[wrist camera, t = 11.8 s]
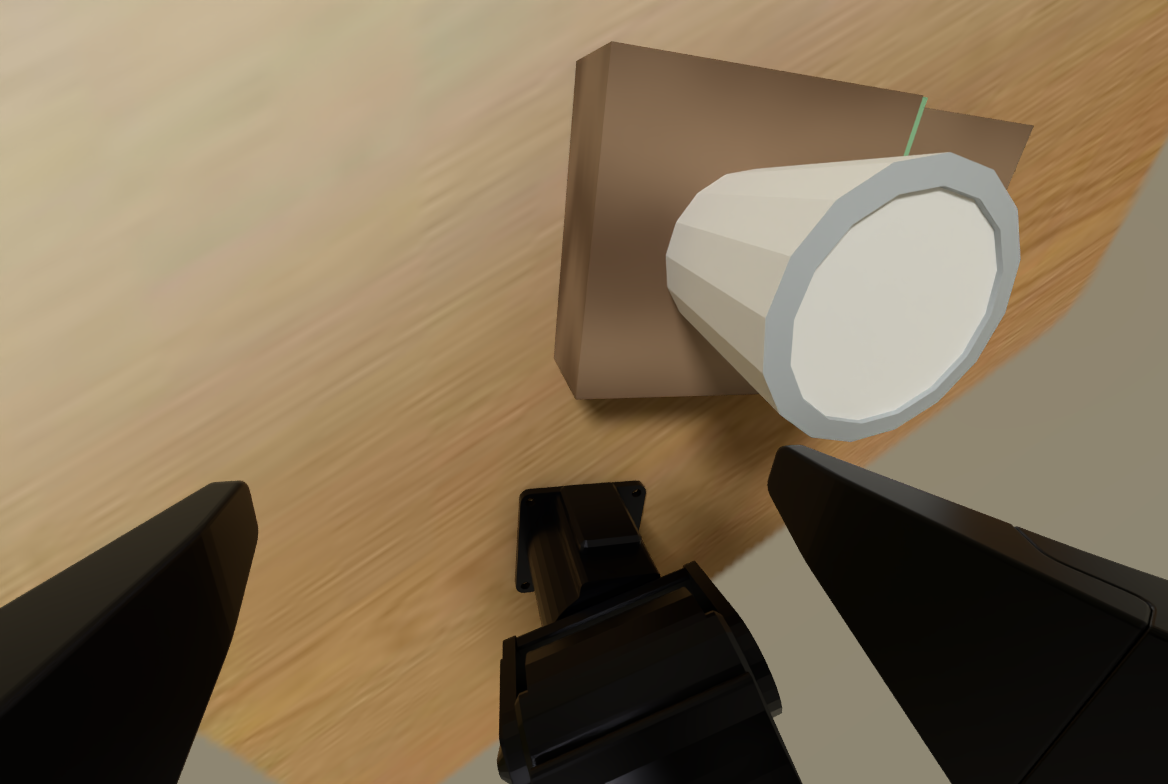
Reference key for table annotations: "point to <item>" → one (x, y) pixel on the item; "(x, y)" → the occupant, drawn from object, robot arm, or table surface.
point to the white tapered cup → (848, 283)
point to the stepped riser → (685, 167)
